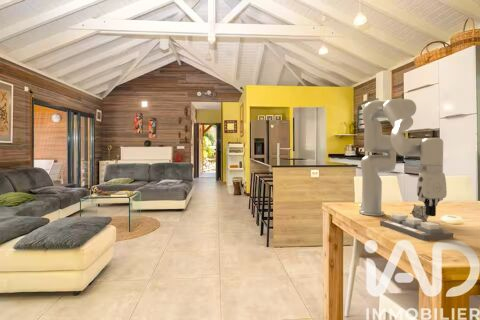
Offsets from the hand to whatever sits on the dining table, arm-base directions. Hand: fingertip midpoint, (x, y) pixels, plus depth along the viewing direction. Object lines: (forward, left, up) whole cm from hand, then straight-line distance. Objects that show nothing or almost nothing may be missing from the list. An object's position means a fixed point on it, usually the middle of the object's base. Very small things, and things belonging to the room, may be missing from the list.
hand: (430, 215), depth 117 cm
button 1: (-16, 0, -5) cm, 17 cm away
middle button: (-8, 0, -5) cm, 10 cm away
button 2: (0, 0, -5) cm, 5 cm away
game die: (-22, +17, -9) cm, 29 cm away
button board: (-8, 0, -8) cm, 12 cm away
